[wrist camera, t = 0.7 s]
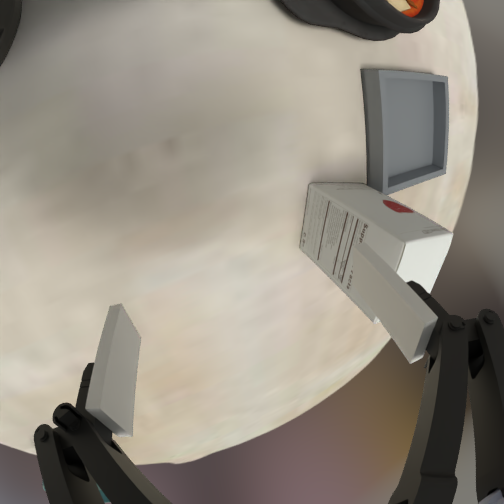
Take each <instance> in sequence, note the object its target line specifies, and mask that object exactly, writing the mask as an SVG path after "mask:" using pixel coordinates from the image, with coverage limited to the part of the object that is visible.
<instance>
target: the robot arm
mask: <svg viewBox="0 0 504 504" xmlns="http://www.w3.org/2000/svg"><path fill="white" fill-rule="evenodd" d="M21 6H22V2H21V0H0V66H1V64H2V62H3V60H4V59H5V57H6V55H7V53H8V51H9V49H10V46H11V44H12V42H13V39H14V37H15V34H16V31H17V28H18V24H19V20H20V15H21ZM352 285H353V286H354V287H355V289H356V290H357V291H358V292H359V294H360V295H361V296H362V298H363V299H364V300H365V302H366V303H367V304H368V306H369V307H370V308H371V310H372V311H373V312H374V314H375V315H376V316H377V318H378V319H379V320H380V322H381V323H382V325H383V326H384V327H385V329H386V330H387V331H388V333H389V334H390V336H391V337H392V338H393V340H394V341H395V343H396V344H397V345H398V347H399V348H400V350H401V351H402V352H403V354H404V355H405V357H406V358H407V360H408V361H409V363H410V364H411V363H413V362H415V361H417V360H418V359H421V358H422V357H423V355H424V353H425V350H427V352H428V353H429V354H430V355H429V357H428V359H427V362H426V364H425V366H424V368H426V367H427V371H426V377H425V384H424V391H423V395H422V401H421V406H420V410H419V415H418V420H417V424H416V429H415V432H414V436H413V440H412V444H411V447H410V450H409V454H408V457H407V460H406V464H405V467H404V470H403V473H402V476H401V478H400V481H399V484H398V486H397V488H396V490H395V491H394V493H393V495H392V496H391V498H390V500H389V503H388V504H452V502H453V499H454V495H455V492H456V488H457V478H456V476H455V468H456V464H457V459H458V454H459V450H460V444H461V438H462V432H463V425H464V417H465V408H466V398H467V384H468V389H469V395H470V402H471V409H472V417H473V425H474V437H475V452H476V492H477V500H478V504H504V328H503V325H502V323H501V321H500V318H499V316H498V315H497V314H496V313H495V312H494V311H492V310H490V309H483V310H481V311H480V312H479V314H478V316H477V318H475V319H469V320H464V319H463V318H461V317H460V316H457V315H449V314H448V313H447V312H446V311H445V310H444V309H443V308H442V306H441V305H440V304H439V303H438V302H437V301H436V300H435V299H434V298H433V297H431V295H430V294H429V293H428V292H427V291H426V290H425V289H424V288H423V287H422V286H421V285H420V284H418V283H416V282H414V281H412V280H411V281H409V282H405V281H404V280H403V279H402V278H401V277H400V276H399V275H398V274H397V273H396V272H395V271H394V270H393V269H392V268H391V267H390V266H389V265H388V264H387V263H386V262H385V261H384V260H383V259H382V258H381V257H380V256H379V255H378V254H377V253H376V252H375V251H374V250H373V249H372V248H370V247H369V246H368V245H367V244H366V243H365V242H364V243H360V244H356V245H353V274H352ZM140 343H141V337H140V335H139V333H138V332H137V330H136V328H135V326H134V325H133V323H132V321H131V320H130V318H129V316H128V314H127V313H126V311H125V309H124V307H123V305H122V303H121V304H117V305H112V306H110V307H109V311H108V314H107V317H106V321H105V324H104V328H103V331H102V335H101V339H100V343H99V347H98V350H97V354H96V359H95V363H88V365H87V367H86V368H85V370H84V371H83V375H82V382H81V384H80V389H79V393H78V398H77V403H76V408H75V407H74V406H72V405H71V404H70V403H62V404H60V405H59V406H58V407H57V408H56V409H55V411H54V413H53V423H54V424H56V425H57V426H58V427H57V428H54V429H53V428H51V427H50V426H49V425H47V424H43V425H40V426H39V427H38V428H37V429H36V431H35V434H34V442H35V448H36V453H37V458H38V462H39V467H40V471H41V475H42V479H43V483H44V486H45V490H46V493H47V496H48V500H49V503H50V504H105V502H104V500H103V498H102V496H101V494H100V491H99V489H98V487H97V485H98V486H99V487H100V489H101V490H102V491H103V493H104V494H105V495H106V497H107V498H108V499H109V501H110V502H111V503H112V504H172V503H171V502H170V501H169V500H168V499H167V498H166V497H165V496H164V495H162V494H161V493H160V492H159V491H158V490H157V489H156V488H155V486H154V485H153V484H152V483H151V482H150V481H149V480H148V479H147V478H146V477H145V476H144V475H143V474H142V473H141V472H140V470H139V469H138V468H137V467H136V466H135V465H134V464H133V462H132V461H131V460H130V459H129V458H128V457H127V455H126V454H125V453H124V452H123V450H122V449H121V448H120V447H119V445H118V444H117V443H116V442H115V441H114V440H113V439H112V432H113V433H114V434H116V435H117V436H118V437H133V417H134V401H135V389H136V378H137V368H138V359H139V350H140ZM96 483H97V484H96Z"/></svg>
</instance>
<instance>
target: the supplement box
mask: <svg viewBox="0 0 504 504" xmlns="http://www.w3.org/2000/svg"><path fill="white" fill-rule="evenodd" d="M452 237H453V233H452V232H450V231H449V230H447V229H446V228H444V227H442V226H441V225H439V224H437V223H436V222H434V221H432V220H431V219H429V218H427V217H425V216H424V215H422V214H420V213H418V212H416V211H415V210H413V209H411V208H409V207H407V206H406V205H404V204H402V203H400V202H398V201H396V200H394V199H392V198H391V197H389V196H387V195H385V194H383V193H381V192H379V191H377V190H375V189H373V188H371V187H369V186H367V185H365V184H361V183H310V184H309V189H308V196H307V204H306V210H305V217H304V224H303V231H302V237H301V243H300V249H301V250H302V251H303V252H304V253H305V254H306V255H307V256H308V257H309V258H310V259H311V260H312V261H313V262H314V263H315V264H316V265H317V266H318V267H319V268H320V269H321V270H322V271H323V272H324V273H325V274H326V275H327V276H328V277H329V278H330V279H331V280H332V281H333V282H334V283H335V284H336V285H337V286H338V287H339V288H340V289H341V290H342V291H343V292H344V293H345V294H346V295H347V296H348V297H349V298H350V299H351V300H352V301H353V302H354V303H355V304H356V305H357V306H358V307H359V308H360V309H361V310H362V311H363V312H364V314H365V315H366V316H367V317H368V318H369V319H370V320H371V321H372V322H373V323H374V324H376V323H379V322H380V320H379V319H378V318H377V316H376V315H375V314H374V312H373V311H372V310H371V308H370V307H369V306H368V304H367V303H366V302H365V300H364V299H363V298H362V296H361V295H360V294H359V292H358V291H357V290H356V289H355V287H354V286H353V285H352V274H353V245H356V244H360V243H364V242H365V243H366V244H367V245H368V246H369V247H370V248H372V249H373V250H374V251H375V252H376V253H377V254H378V255H379V256H380V257H381V258H382V259H383V260H384V261H385V262H386V263H387V264H388V265H389V266H390V267H391V268H392V269H393V270H394V271H395V272H396V273H397V274H398V275H399V276H400V277H401V278H402V279H403V280H404V281H405V282H409V281H411V280H412V281H414V282H416V283H418V284H420V285H421V286H422V287H423V288H424V289H425V290H426V291H427V292H428V293H429V294H430V291H431V290H432V287H433V285H434V282H435V280H436V278H437V276H438V273H439V271H440V268H441V266H442V264H443V262H444V259H445V257H446V255H447V252H448V250H449V247H450V244H451V241H452Z"/></svg>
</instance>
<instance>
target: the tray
mask: <svg viewBox="0 0 504 504" xmlns="http://www.w3.org/2000/svg"><path fill="white" fill-rule="evenodd" d="M360 70H361V78H362V87H363V98H364V110H365V125H366V148H367V186H369V187H371V188H373V189H375V190H377V191H379V192H381V193H383V194H385V195H389V194H392V193H394V192H397V191H400V190H402V189H405V188H408V187H411V186H413V185H416V184H419V183H422V182H424V181H427V180H430V179H433V178H435V177H438V176H441V175H444V174H446V165H447V153H448V133H449V93H448V77H447V76H441V75H434V74H426V73H418V72H408V71H395V70H375V69H360Z"/></svg>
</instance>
